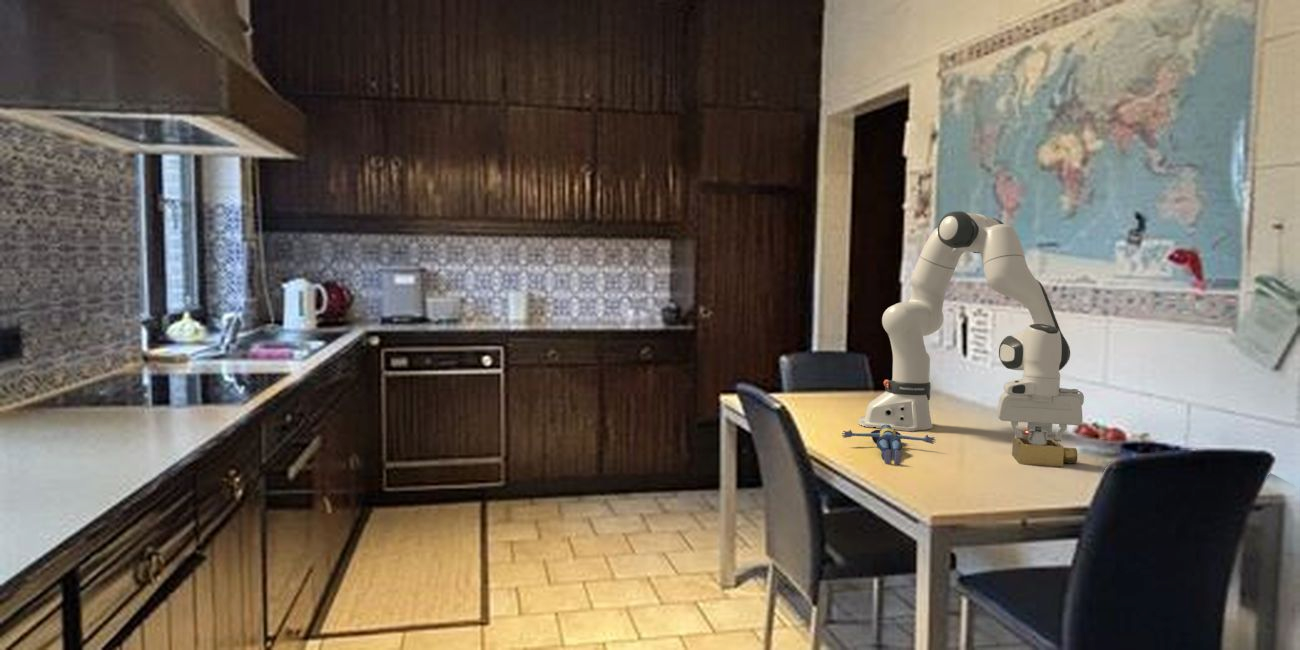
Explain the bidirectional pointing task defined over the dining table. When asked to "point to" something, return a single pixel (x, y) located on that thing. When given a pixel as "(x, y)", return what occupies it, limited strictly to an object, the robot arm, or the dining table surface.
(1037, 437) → the cylinder
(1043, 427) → the skincare box
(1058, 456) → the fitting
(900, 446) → the figurine
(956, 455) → the dining table surface
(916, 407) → the robot arm
